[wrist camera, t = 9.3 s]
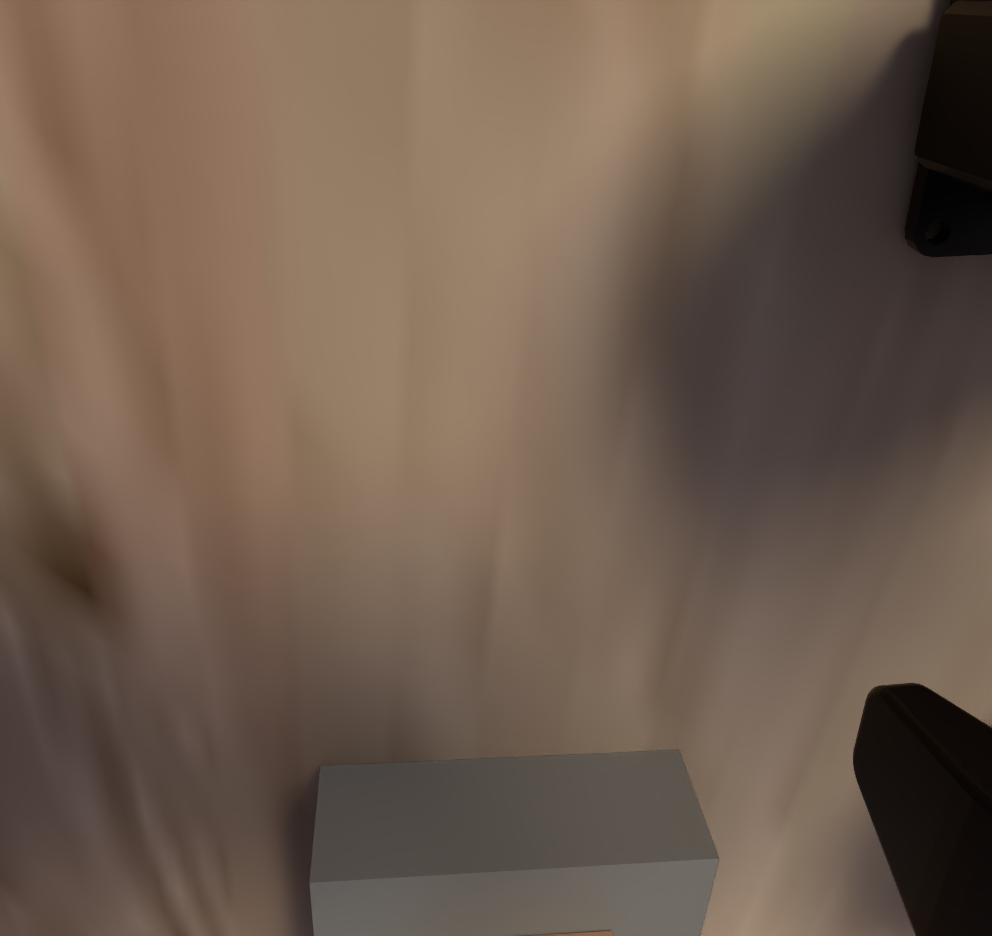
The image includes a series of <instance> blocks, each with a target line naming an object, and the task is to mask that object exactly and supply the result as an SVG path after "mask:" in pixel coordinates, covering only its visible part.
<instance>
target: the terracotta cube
mask: <svg viewBox="0 0 992 936" xmlns="http://www.w3.org/2000/svg"><path fill="white" fill-rule="evenodd" d="M533 936H613V934H612V931H601V932H584V933H567V934H550V935H533Z"/></svg>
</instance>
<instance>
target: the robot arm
mask: <svg viewBox="0 0 992 936" xmlns="http://www.w3.org/2000/svg"><path fill="white" fill-rule="evenodd" d="M914 153H915V156H916V157H917V159H918V160H919V161H918V166H917V171H916V176H915V181H914V186H913V191H912V196H911V201H910V206H909V211H908V216H907V220H906V225H905V240H906V242H907V244H908V246H909V247H911V248H912V249H913V250H915V251H916V252H918V253H920V254H922V255H924V256H929V257H946V256H967V255H988V254H992V0H951V3H950V7H949V8H948V9H947V10H946V12H945V13H944V14H943V15H942V17H941V20H940V25H939V30H938V35H937V40H936V45H935V50H934V55H933V60H932V65H931V70H930V75H929V80H928V85H927V90H926V95H925V100H924V105H923V110H922V115H921V120H920V125H919V130H918V135H917V140H916V145H915V152H914ZM938 220H940V229H939V231H938V233H937V234H936V235H935V236H934V237H933V238H932V239H928V240H927V238H926V233H927V230H928V228H929V226H930V225H932V224H933V223H934V222H935V221H938ZM853 765H854V772H855V776H856V779H857V782H858V785H859V788H860V790H861V793H862V796H863V798H864V801H865V804H866V806H867V809H868V812H869V814H870V817H871V820H872V822H873V825H874V828H875V830H876V833H877V836H878V838H879V841H880V843H881V846H882V849H883V851H884V854H885V857H886V859H887V862H888V865H889V867H890V870H891V873H892V875H893V878H894V881H895V883H896V886H897V889H898V891H899V894H900V897H901V899H902V902H903V905H904V907H905V910H906V912H907V915H908V918H909V920H910V923H911V925H912V928H913V930H914V933H915V935H916V936H992V727H990V726H988V725H987V724H985V723H984V722H982V721H980V720H979V719H977V718H976V717H974V716H972V715H971V714H969V713H967V712H966V711H964V710H963V709H961V708H959V707H958V706H956V705H955V704H953V703H951V702H950V701H948V700H947V699H945V698H943V697H942V696H940V695H939V694H937V693H935V692H934V691H932V690H931V689H929V688H927V687H925V686H923V685H920V684H917V683H904V684H893V685H881V686H877V687H874V688H873V689H872V690H871V691H870V692H869V694H868V695H867V698H866V701H865V706H864V710H863V714H862V718H861V722H860V726H859V730H858V734H857V738H856V742H855V747H854V752H853Z"/></svg>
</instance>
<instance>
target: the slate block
mask: <svg viewBox="0 0 992 936" xmlns="http://www.w3.org/2000/svg"><path fill="white" fill-rule="evenodd" d="M718 862H719V856H718V853H717V851H716V848H715V845H714V842H713V840H712V837H711V834H710V832H709V829H708V826H707V824H706V821H705V818H704V816H703V813H702V810H701V808H700V805H699V802H698V799H697V797H696V794H695V791H694V789H693V786H692V783H691V781H690V778H689V775H688V773H687V770H686V767H685V764H684V762H683V759H682V756H681V754H680V751H679V750H659V751H637V752H614V753H592V754H570V755H548V756H526V757H503V758H481V759H459V760H437V761H415V762H392V763H370V764H348V765H326V766H320V774H319V785H318V796H317V807H316V817H315V828H314V839H313V850H312V860H311V871H310V882H309V884H310V896H311V908H312V920H313V931H314V936H533V935H550V934H567V933H584V932H601V931H612V934H613V936H700V935H701V931H702V927H703V923H704V919H705V915H706V911H707V907H708V903H709V899H710V895H711V891H712V887H713V883H714V879H715V875H716V870H717V866H718Z"/></svg>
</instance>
